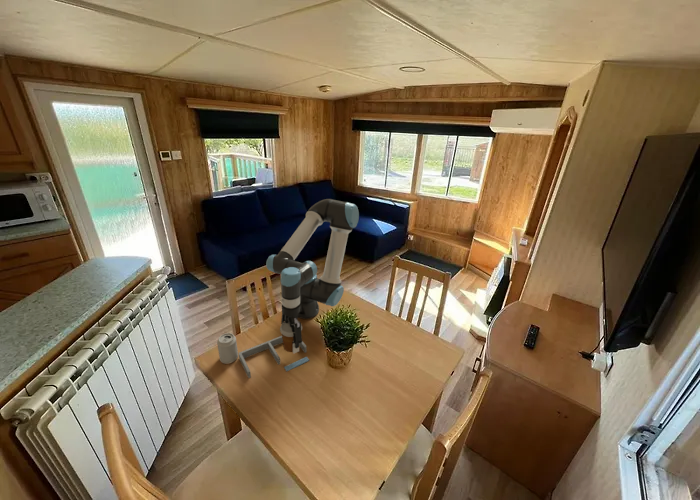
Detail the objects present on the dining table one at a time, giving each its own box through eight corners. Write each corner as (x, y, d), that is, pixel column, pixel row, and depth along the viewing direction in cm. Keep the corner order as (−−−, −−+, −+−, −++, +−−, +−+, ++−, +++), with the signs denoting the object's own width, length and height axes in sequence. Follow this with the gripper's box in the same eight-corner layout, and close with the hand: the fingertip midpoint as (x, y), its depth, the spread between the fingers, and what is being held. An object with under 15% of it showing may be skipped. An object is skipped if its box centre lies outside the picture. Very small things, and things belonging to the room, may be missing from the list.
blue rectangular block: (306, 357, 127) (306, 356, 127) (309, 360, 126) (309, 359, 126) (284, 367, 121) (284, 366, 121) (286, 371, 120) (286, 370, 119)
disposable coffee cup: (275, 349, 122) (275, 327, 117) (289, 336, 130) (289, 316, 125) (293, 358, 119) (292, 336, 114) (306, 344, 126) (306, 323, 121)
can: (241, 353, 127) (238, 332, 122) (233, 366, 120) (230, 344, 115) (225, 350, 127) (222, 330, 122) (216, 363, 121) (213, 342, 116)
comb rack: (294, 336, 139) (294, 330, 138) (306, 352, 130) (306, 346, 129) (239, 358, 124) (238, 352, 122) (248, 378, 115) (247, 372, 114)
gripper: (272, 293, 120) (274, 335, 129) (294, 320, 105) (294, 365, 115) (288, 289, 124) (289, 329, 134) (311, 314, 109) (310, 357, 119)
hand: (291, 345), depth 124 cm, fingers closed on disposable coffee cup, 8 cm apart
